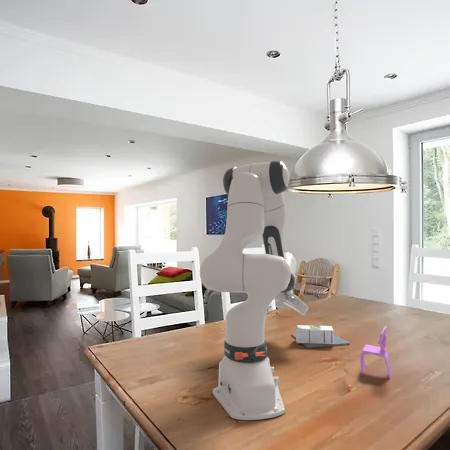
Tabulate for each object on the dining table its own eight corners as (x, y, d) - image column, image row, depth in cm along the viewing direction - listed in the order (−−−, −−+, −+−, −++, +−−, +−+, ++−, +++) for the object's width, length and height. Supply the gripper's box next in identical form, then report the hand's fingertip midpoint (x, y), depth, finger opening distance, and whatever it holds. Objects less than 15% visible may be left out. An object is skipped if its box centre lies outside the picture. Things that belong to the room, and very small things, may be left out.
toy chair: (363, 365, 119) (363, 320, 119) (392, 370, 115) (392, 324, 115) (359, 374, 112) (358, 326, 112) (389, 380, 107) (389, 330, 108)
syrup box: (296, 343, 140) (334, 345, 138) (296, 328, 140) (334, 330, 138) (295, 338, 146) (332, 340, 144) (295, 324, 146) (332, 325, 143)
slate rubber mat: (349, 344, 140) (349, 343, 140) (306, 347, 136) (306, 346, 136) (330, 332, 156) (330, 331, 156) (291, 335, 152) (291, 334, 152)
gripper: (296, 289, 133) (321, 314, 135) (278, 281, 153) (299, 303, 155) (285, 302, 132) (310, 326, 134) (268, 292, 153) (290, 313, 154)
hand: (304, 314), depth 145 cm, fingers closed
